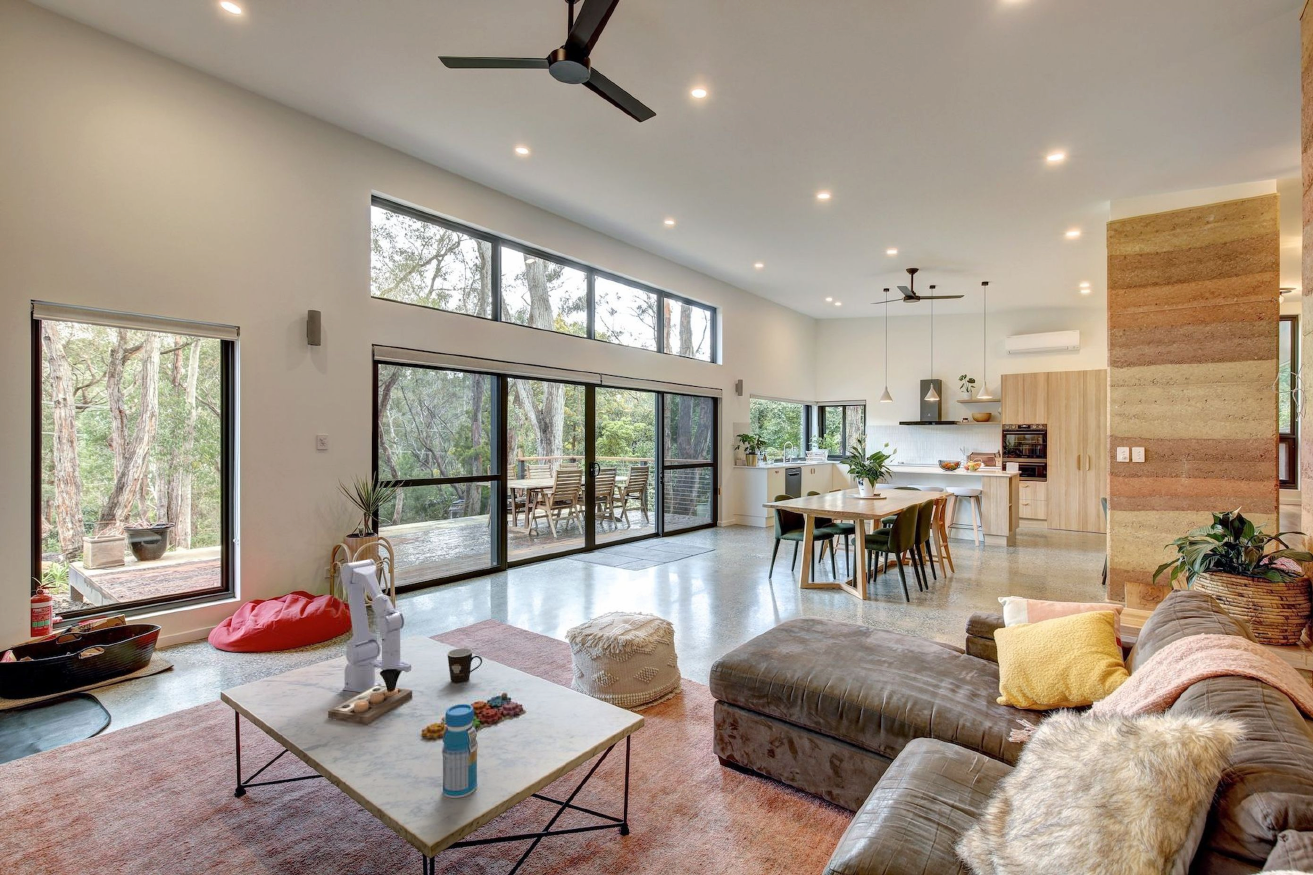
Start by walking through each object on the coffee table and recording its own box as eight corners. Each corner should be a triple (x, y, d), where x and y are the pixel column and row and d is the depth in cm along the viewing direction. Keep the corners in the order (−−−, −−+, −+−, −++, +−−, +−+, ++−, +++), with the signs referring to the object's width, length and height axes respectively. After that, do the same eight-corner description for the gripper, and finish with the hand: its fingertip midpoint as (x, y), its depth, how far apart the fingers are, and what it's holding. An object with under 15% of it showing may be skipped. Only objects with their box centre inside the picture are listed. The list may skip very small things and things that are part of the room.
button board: (328, 718, 186) (328, 709, 186) (375, 692, 205) (375, 683, 205) (367, 725, 182) (367, 716, 182) (412, 697, 201) (412, 689, 201)
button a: (351, 712, 185) (351, 705, 185) (361, 706, 189) (361, 699, 189) (361, 714, 184) (361, 706, 184) (371, 708, 188) (371, 701, 188)
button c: (381, 698, 198) (381, 692, 198) (390, 693, 202) (390, 687, 202) (391, 700, 197) (391, 693, 197) (400, 695, 201) (400, 688, 201)
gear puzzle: (431, 749, 169) (431, 735, 169) (409, 729, 181) (409, 715, 181) (528, 713, 190) (528, 701, 190) (502, 697, 202) (502, 685, 202)
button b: (367, 703, 192) (367, 696, 192) (376, 698, 196) (376, 691, 196) (377, 704, 191) (377, 698, 191) (386, 699, 194) (386, 692, 194)
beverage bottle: (448, 803, 143) (447, 720, 143) (437, 786, 150) (437, 707, 150) (482, 791, 148) (482, 710, 148) (471, 775, 155) (470, 698, 155)
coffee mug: (442, 681, 214) (442, 654, 214) (460, 673, 221) (460, 646, 221) (466, 688, 208) (466, 659, 208) (483, 679, 216) (483, 651, 216)
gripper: (364, 651, 197) (364, 692, 198) (400, 656, 193) (400, 698, 193) (380, 644, 204) (380, 684, 204) (415, 648, 200) (415, 689, 200)
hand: (391, 690), depth 199 cm, fingers closed, pressing on button c
